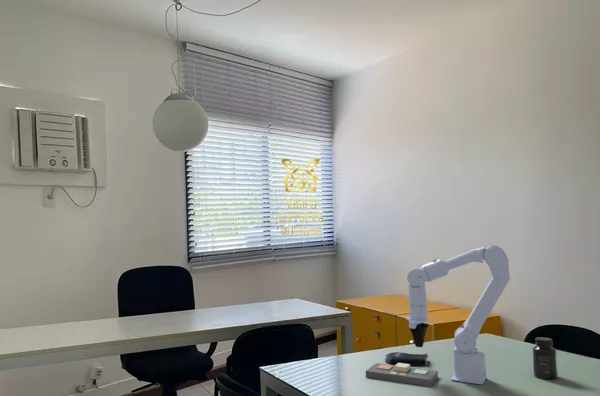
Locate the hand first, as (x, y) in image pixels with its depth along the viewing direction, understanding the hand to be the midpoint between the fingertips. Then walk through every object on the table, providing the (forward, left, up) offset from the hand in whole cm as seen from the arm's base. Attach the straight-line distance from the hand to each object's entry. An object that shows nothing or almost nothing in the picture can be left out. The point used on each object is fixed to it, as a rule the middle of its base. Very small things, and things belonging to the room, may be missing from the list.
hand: (419, 346), depth 157 cm
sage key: (-1, +3, -9) cm, 9 cm away
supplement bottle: (-36, -16, -10) cm, 41 cm away
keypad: (+5, +4, -9) cm, 11 cm away
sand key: (+5, +3, -7) cm, 9 cm away
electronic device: (+9, -13, -10) cm, 19 cm away
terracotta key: (+11, +3, -9) cm, 14 cm away
